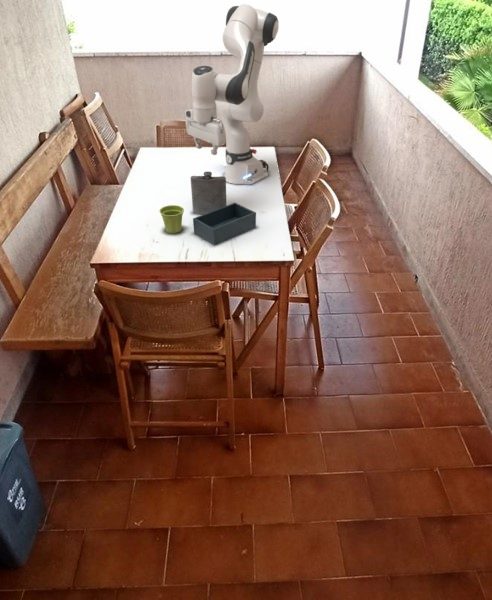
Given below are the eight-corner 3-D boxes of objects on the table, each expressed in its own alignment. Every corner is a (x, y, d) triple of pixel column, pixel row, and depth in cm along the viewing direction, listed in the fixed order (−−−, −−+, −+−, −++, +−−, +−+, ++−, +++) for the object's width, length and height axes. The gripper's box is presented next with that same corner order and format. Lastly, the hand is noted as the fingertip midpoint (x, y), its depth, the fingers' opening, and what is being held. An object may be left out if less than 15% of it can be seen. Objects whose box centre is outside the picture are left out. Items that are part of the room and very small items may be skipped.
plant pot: (164, 224, 197) (161, 204, 192) (187, 224, 197) (185, 205, 191) (159, 235, 189) (157, 215, 184) (183, 236, 189) (181, 215, 184)
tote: (235, 216, 203) (235, 202, 199) (255, 227, 195) (256, 212, 192) (193, 233, 191) (192, 218, 187) (214, 245, 183) (213, 229, 180)
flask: (226, 215, 204) (225, 174, 193) (192, 214, 204) (189, 173, 193) (227, 211, 207) (225, 171, 196) (193, 210, 207) (190, 170, 196)
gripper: (229, 119, 177) (230, 156, 185) (195, 107, 189) (197, 143, 197) (216, 122, 174) (217, 160, 182) (181, 110, 185) (184, 146, 194)
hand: (206, 151), depth 189 cm, fingers open, 8 cm apart
